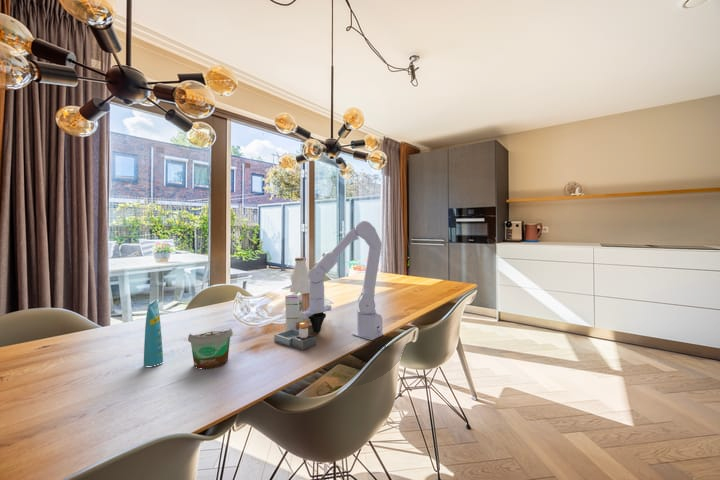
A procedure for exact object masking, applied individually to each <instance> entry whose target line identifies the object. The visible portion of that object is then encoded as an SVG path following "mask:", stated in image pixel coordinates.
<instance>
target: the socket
mask: <svg viewBox="0 0 720 480" xmlns="http://www.w3.org/2000/svg"><path fill="white" fill-rule="evenodd" d="M316 345H317V337H316V336H314V335H309V334H308V338H307V339H305V340H301V339H299V335H298V336H295V337H292V338H291V346H290V347H293V348H295V349H298V350H302V351H304V350H308V349H310V348H311V347H314V346H316Z"/></svg>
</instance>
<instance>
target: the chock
mask: <svg viewBox="0 0 720 480" xmlns="http://www.w3.org/2000/svg"><path fill="white" fill-rule="evenodd" d="M300 322H308V334H309V335H312V336H314V335H315V334H316V333H314V330H313V326H312V324H311V321H310V319H305V320H302V321H300ZM300 322H297V323H296V330H299V323H300Z"/></svg>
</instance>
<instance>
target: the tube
mask: <svg viewBox="0 0 720 480" xmlns="http://www.w3.org/2000/svg"><path fill="white" fill-rule="evenodd" d="M147 306H148V307H147V311H146V317H145V326H144V327H145V328H144V343H143V345H144V346H143V367H144V366H154V365H157V364H160V363H162V362H163V363H164V353H163V340H162V339H163V337H162V326H161V317H160V310H159V304H158V299H157V298H156V299H154V301H153V302H151V303H149V304H148V305H147ZM163 363H162V364H163ZM160 365H161V364H160Z"/></svg>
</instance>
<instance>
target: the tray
mask: <svg viewBox="0 0 720 480" xmlns="http://www.w3.org/2000/svg"><path fill="white" fill-rule="evenodd" d="M298 335H299V330H295V329H290V330H283V331H281V332H278V333H274V335H273V337H274V338H273V339H274V340H273V341H274V342H275V343H277V344H281V345H283V346H287V347H292V346H291V338H292V337H295V336H298Z"/></svg>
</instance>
